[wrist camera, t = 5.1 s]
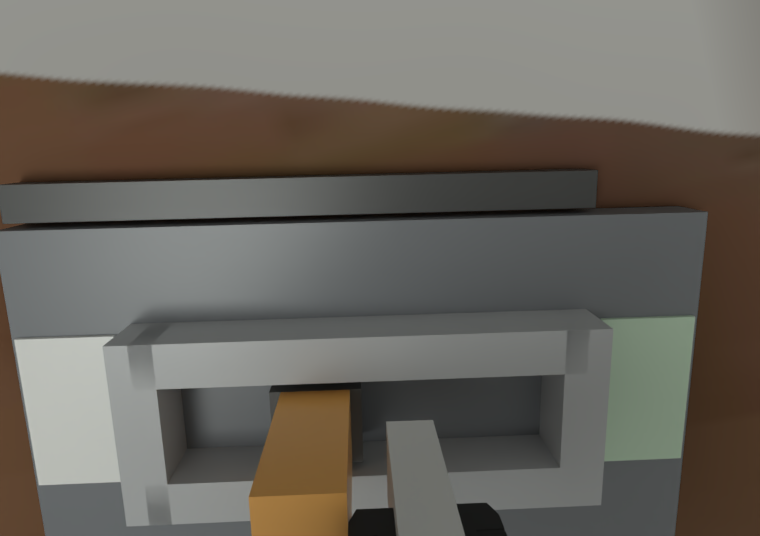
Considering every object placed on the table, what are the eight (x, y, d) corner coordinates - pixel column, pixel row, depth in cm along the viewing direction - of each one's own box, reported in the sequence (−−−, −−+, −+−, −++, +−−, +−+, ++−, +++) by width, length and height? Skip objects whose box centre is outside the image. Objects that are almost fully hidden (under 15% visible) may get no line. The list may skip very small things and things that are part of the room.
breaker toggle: (281, 436, 22) (240, 595, 15) (277, 370, 22) (231, 497, 14) (362, 433, 22) (365, 589, 15) (360, 367, 22) (362, 492, 14)
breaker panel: (86, 612, 26) (33, 705, 22) (18, 182, 22) (-64, 192, 18) (643, 585, 27) (697, 668, 23) (681, 166, 23) (757, 171, 18)
